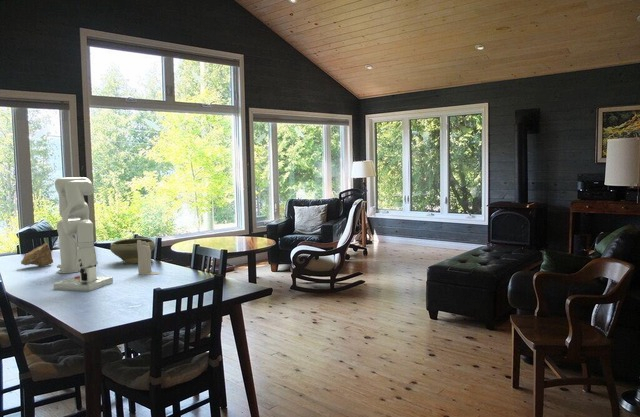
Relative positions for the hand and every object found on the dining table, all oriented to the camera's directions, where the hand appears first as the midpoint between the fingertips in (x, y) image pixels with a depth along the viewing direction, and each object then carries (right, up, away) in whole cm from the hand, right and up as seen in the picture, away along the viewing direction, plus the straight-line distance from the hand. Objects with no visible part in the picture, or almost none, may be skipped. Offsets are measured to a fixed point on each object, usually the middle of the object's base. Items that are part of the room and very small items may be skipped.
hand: (88, 278), depth 264 cm
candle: (+23, -1, +28) cm, 36 cm away
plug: (0, -1, 0) cm, 1 cm away
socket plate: (-3, -4, +1) cm, 5 cm away
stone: (-58, 0, +56) cm, 81 cm away
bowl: (-1, +2, +67) cm, 67 cm away
